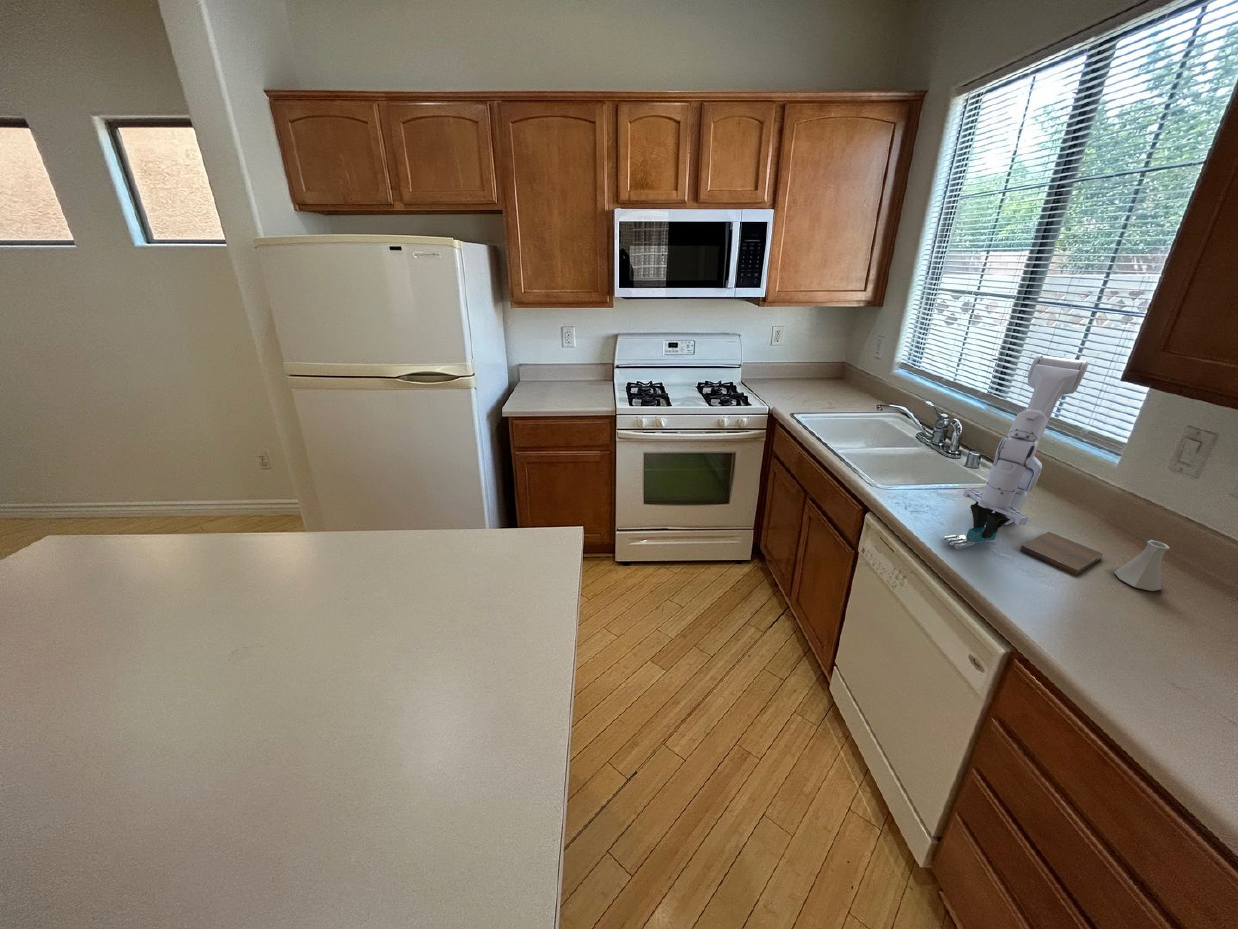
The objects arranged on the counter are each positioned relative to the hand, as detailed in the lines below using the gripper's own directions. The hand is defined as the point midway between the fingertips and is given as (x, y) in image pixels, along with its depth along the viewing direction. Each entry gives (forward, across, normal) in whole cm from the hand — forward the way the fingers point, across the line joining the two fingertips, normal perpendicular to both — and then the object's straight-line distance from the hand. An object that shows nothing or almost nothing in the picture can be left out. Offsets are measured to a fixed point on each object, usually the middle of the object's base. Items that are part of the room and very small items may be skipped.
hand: (981, 534), depth 118 cm
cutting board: (+2, +8, +16) cm, 18 cm away
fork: (+1, 0, -4) cm, 4 cm away
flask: (+3, +20, +22) cm, 30 cm away
